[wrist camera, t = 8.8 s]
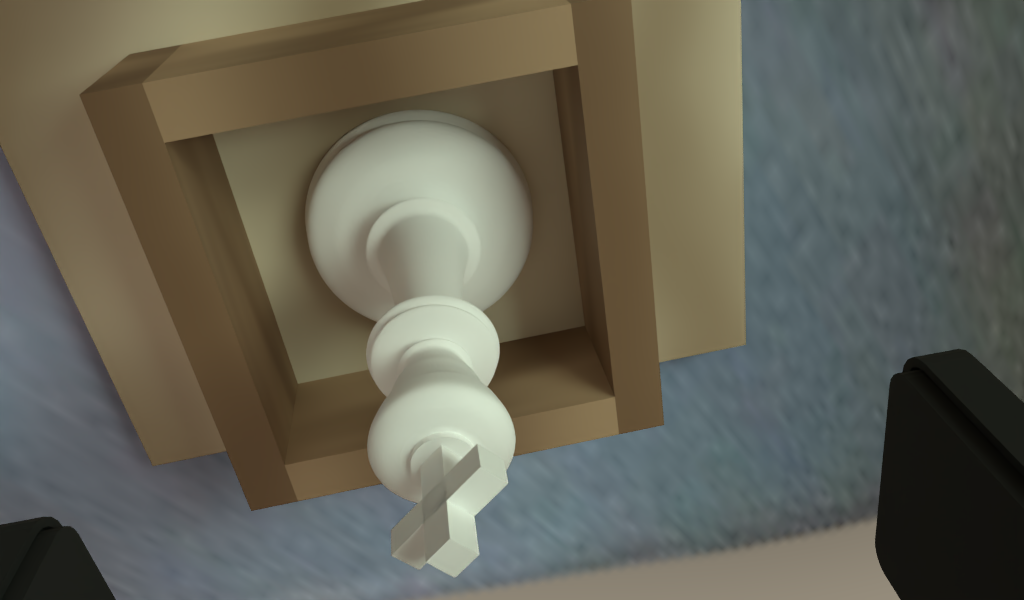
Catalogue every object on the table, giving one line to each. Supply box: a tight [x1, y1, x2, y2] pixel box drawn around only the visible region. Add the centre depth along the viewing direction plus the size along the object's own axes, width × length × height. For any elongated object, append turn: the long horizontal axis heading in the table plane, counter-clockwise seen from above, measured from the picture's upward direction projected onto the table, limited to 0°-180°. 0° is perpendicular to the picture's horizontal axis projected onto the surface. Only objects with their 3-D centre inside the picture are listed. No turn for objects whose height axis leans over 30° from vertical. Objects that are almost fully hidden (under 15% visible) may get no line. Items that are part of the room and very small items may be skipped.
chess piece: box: [305, 110, 533, 578], centre depth 14 cm, size 5×5×10 cm
